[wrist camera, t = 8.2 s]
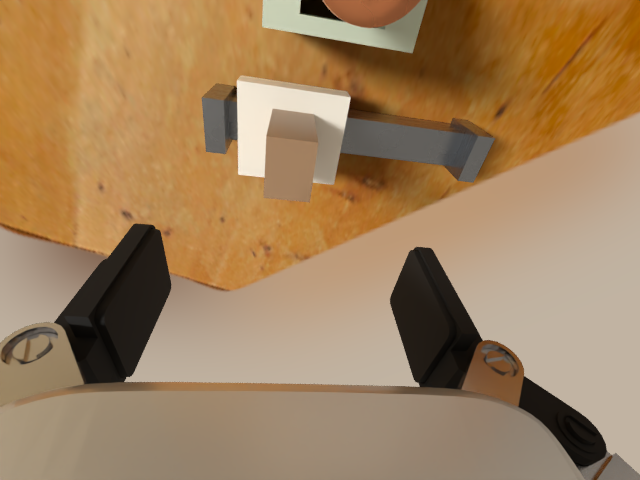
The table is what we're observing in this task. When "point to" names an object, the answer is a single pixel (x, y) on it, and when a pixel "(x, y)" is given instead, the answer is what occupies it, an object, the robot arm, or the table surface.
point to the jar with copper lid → (370, 11)
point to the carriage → (289, 135)
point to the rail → (371, 135)
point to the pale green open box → (344, 26)
